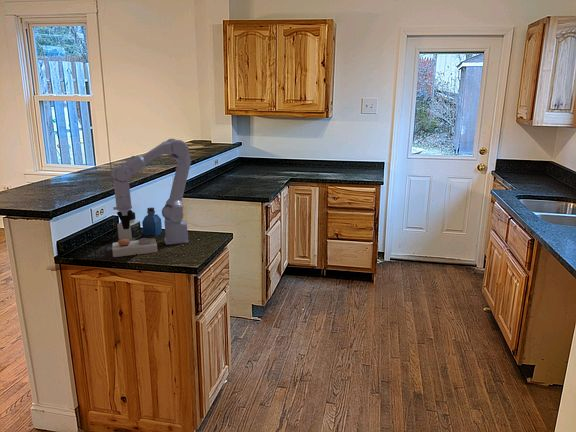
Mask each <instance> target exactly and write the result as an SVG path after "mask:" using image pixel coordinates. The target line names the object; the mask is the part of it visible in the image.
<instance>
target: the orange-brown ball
mask: <svg viewBox="0 0 576 432" xmlns="http://www.w3.org/2000/svg"><path fill="white" fill-rule="evenodd" d="M130 241H131V240H129V239H118V240H117V242H118V244H119V245H121V247H122V246H128V245H127V244H130Z"/></svg>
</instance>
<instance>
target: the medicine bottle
mask: <svg viewBox="0 0 576 432" xmlns="http://www.w3.org/2000/svg"><path fill="white" fill-rule="evenodd" d="M116 225H117V226H116V227H117V235H118V240H121V239H129V240H130V241H135V240H136V239H138V238H139V237H141V236H142V228H141V220H137V219H136V212H135V211H134V210H132V215H131V218H130V226H129V229H123V226H122V223H121V222H118V223H117V224H116Z"/></svg>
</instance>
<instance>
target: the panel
mask: <svg viewBox="0 0 576 432" xmlns="http://www.w3.org/2000/svg"><path fill="white" fill-rule="evenodd" d="M150 241H151V242H150V243H148V244H139V239H137V240H136V239H134V240H130V244H127V245H128V246H122V247H121V245H119V244H118V241H117V242H116V241H115V242H112V248H111V249H112V257H113V258H118V257H126V256H136V254H137V255H145V254H155V253H158V244H157V239H156V238H155V237H154V238H150Z"/></svg>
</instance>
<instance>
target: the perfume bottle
mask: <svg viewBox="0 0 576 432" xmlns="http://www.w3.org/2000/svg"><path fill="white" fill-rule="evenodd" d="M146 210H147V211H146V215H145V216H144V218H143V219H142V222H141V224H142V235H143V236H150V235H152V236H151V237H153V236H154V237H157V236H158V235H160V234H161V233H162V232H163V227H162V218H161V217H160V216H159V215H158V214H155V213H156V210H155V207H147V209H146Z"/></svg>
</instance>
